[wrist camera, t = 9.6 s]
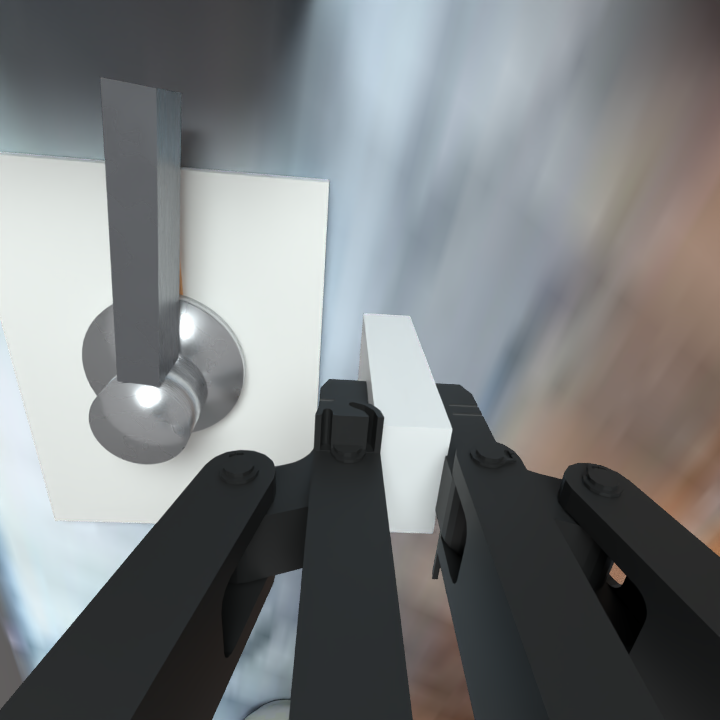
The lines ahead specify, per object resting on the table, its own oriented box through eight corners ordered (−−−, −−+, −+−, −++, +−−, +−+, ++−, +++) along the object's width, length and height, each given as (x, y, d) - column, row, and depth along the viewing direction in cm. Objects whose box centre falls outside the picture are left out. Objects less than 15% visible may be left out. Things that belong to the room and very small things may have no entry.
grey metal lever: (240, 434, 30) (225, 484, 26) (94, 417, 29) (53, 466, 25) (266, 110, 22) (250, 106, 18) (64, 69, 21) (-2, 56, 17)
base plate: (311, 512, 36) (310, 529, 35) (66, 505, 35) (53, 522, 33) (330, 159, 25) (330, 161, 24) (-31, 127, 24) (-56, 127, 22)
